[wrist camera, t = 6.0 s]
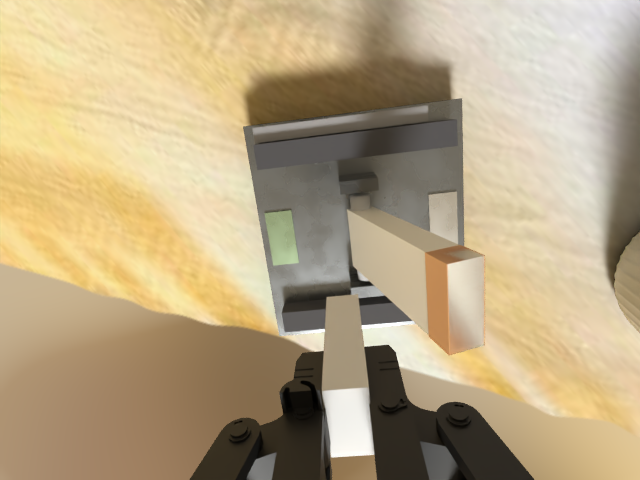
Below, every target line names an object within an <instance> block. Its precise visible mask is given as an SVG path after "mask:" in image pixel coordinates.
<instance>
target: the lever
mask: <svg viewBox="0 0 640 480" xmlns="http://www.w3.org/2000/svg"><path fill="white" fill-rule="evenodd" d="M350 206H351V209H347V213H348V223H349V232H350V242H351V251H352V261H353V266H354V267H355V268H356V269H357V274H358V279H359V280H361V281H370V282H371V283H372V284H373V285H374V286H375V287H376V288H378V289H379V290H380V291H381V292H382V293H383V294H384V295H385V296H386V297H387V298H388V299H390V300H391V301H392V302H393V303H394V304H395V305H396V306H397V307H398V308H399V309H400V310H401V311H403V312H404V313H405V314H406V315H407V316H408V317H409V318H410V319H411V320H412V321H413V322H415V323H416V324H417V325H418V326H419V327H420V328H421V329H422V330H423V331H424V332H425V333H427V334H428V335H429V337H430V338H431V339H432V340H433V341H434V342H435V343H436V344H437V345H438V346H440V347H441V348H442V349H443V350H444V351H445V352H446V353H447V354H448V355H452V354H456V353H459V352H463V351H466V350H470V349H473V348H477V347H480V346H484V345H485V255H482V254H480V253H478V252H476V251H473V250H471V249H469V248H466V247H464V246H462V245H458V244H456V243H454V242H452V241H449V240H447V239H445V238H443V237H440V236H438V235H436V234H434V233H431V232H429V231H427V230H424V229H422V228H420V227H418V226H415V225H413V224H411V223H409V222H406V221H404V220H402V219H400V218H397V217H395V216H393V215H391V214H388V213H386V212H384V211H381V210H379V209H377V208H375V207H372V206H370V196H369V194H368V193H358V194H353V195H350Z"/></svg>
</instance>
